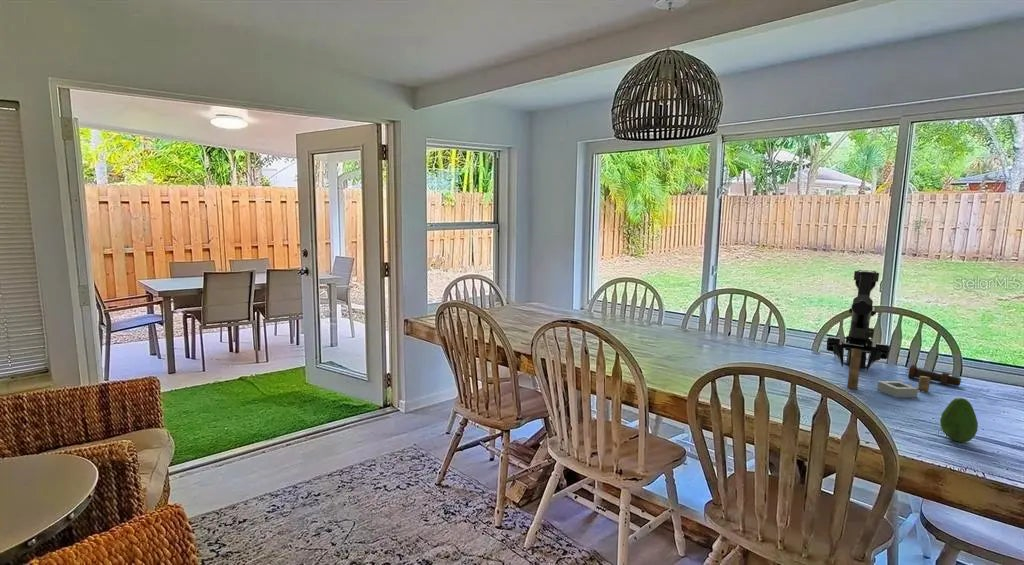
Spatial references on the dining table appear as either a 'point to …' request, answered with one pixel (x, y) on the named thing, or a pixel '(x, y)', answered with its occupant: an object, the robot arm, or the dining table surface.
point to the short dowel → (924, 383)
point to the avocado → (959, 420)
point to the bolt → (934, 376)
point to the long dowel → (854, 368)
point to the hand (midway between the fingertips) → (854, 367)
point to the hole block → (897, 389)
